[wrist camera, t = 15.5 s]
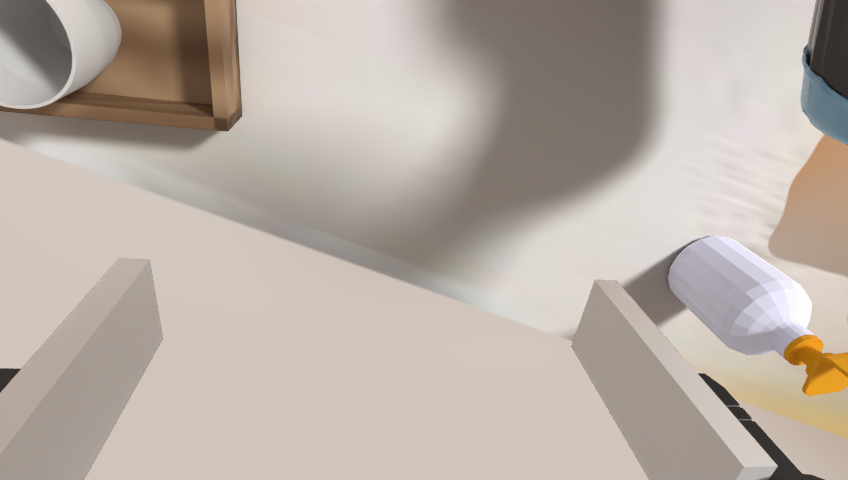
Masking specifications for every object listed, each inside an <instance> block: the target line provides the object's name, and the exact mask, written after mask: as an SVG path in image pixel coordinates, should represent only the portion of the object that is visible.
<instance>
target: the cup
mask: <svg viewBox="0 0 848 480" xmlns="http://www.w3.org/2000/svg"><path fill="white" fill-rule="evenodd" d="M121 37H122V33H121V27H120V23H119V21H118V18H117V16H116V15H115V13H114V11H113V10H112V9H111V7H110V6H109V5H108V4H107V3H106V2H105V1H104V0H0V106H4V107H9V108H16V109H32V108H38V107H42V106H45V105H48V104H50V103H52V102H54V101H56V100H58V99H60V98H62V97H64V96H66V95H68V94H70V93H72V92H74V91H76V90H77V89H79V88H81V87H83V86H85V85H87V84H88V83H89V82H91V81H92V80H93V79H94V78H95V77H96V76H97V75H99V74H100V73H101V72H102V71H103V70H104V69H105V68H107V67H108V66H109V65H110V63H111V62H112V61H113V59H114V57H115V55H116V53H117V50H118V48H119V46H120V43H121Z"/></svg>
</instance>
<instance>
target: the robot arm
mask: <svg viewBox="0 0 848 480" xmlns="http://www.w3.org/2000/svg"><path fill="white" fill-rule="evenodd" d="M802 63H803V66H804V77H803V85H802V92H801V106H802V110H803V112H804V113H805V114H806V116H807V117H808V119H809V120H810V122H811V124H812V125H813V126H814V127H816V128H817V129H818V130H820V131H821V132H822V133H824V134H825V135H827V136H829V137H831V138H833V139H835V140H837V141H839V142H841V143H844V144H846V145H848V0H816V4H815V9H814V14H813V19H812V24H811V30H810V35H809V40H808V44H807V45H806V47H805V48H804V51H803V56H802ZM162 340H163V335H162V329H161V324H160V319H159V312H158V306H157V300H156V294H155V288H154V282H153V276H152V270H151V265H150V260H140V259H118V260H117V261H116V263H115V264H114V265H113V266H112V267H111V268H110V269H109V271H108V272H107V273H106V274H105V275H104V276H103V277H102V278H101V279H100V281H99V282H98V283H97V284H96V285H95V286H94V288H92V290H91V291H90V292H89V293H88V294H87V295H86V296H85V298H84V299H83V300H82V301H81V302H80V303H79V304H78V305H77V307H76V308H75V309H74V310H73V311H72V312H71V313H70V315H69V316H68V317H67V318H66V319H65V320H64V321H63V322H62V324H61V325H60V326H59V327H58V328H57V329H56V330H55V332H54V333H53V334H52V335H51V336H50V337H49V338H48V339H47V341H46V342H45V343H44V344H43V345H42V346H41V347H40V348H39V350H38V351H37V352H36V353H35V354H34V355H33V356H32V357H31V359H30V360H29V361H28V362H27V363H26V364H25V365H24V366H23V368H22V369H0V480H84V479H85V477H86V476H87V474H88V472H89V470H90V469H91V467H92V465H93V463H94V461H95V460H96V458H97V456H98V454H99V452H100V451H101V449H102V447H103V445H104V443H105V442H106V440H107V438H108V436H109V435H110V432H111V431H112V429H113V427H114V426H115V424H116V422H117V420H118V418H119V417H120V415H121V413H122V411H123V410H124V408H125V406H126V404H127V402H128V401H129V399H130V397H131V395H132V393H133V391H134V390H135V388H136V386H137V385H138V383H139V381H140V379H141V377H142V376H143V374H144V372H145V370H146V368H147V367H148V365H149V363H150V361H151V359H152V357H153V355H154V354H155V352H156V351H157V349H158V347H159V345H160V343H161V342H162ZM571 347H572V348H573V350H574V352H575V353H576V355H577V357H578V359H579V360H580V362H581V364H582V366H583V367H584V369H585V370H586V372H587V374H588V376H589V378H590V379H591V381H592V383H593V384H594V386H595V388H596V390H597V391H598V393H599V395H600V396H601V398H602V400H603V402H604V403H605V405H606V407H607V408H608V410H609V412H610V413H611V415H612V417H613V419H614V420H615V422H616V424H617V425H618V427H619V429H620V431H621V432H622V434H623V436H624V437H625V439H626V441H627V443H628V444H629V446H630V448H631V449H632V451H633V453H634V455H635V456H636V458H637V460H638V461H639V463H640V465H641V467H642V468H643V470H644V472H645V473H646V475H647V477H648V479H649V480H824V479H821V478H819V477H816V476H813V475H807V474H802V473H801V472H800V471H799V470H798V469H797V468H796V467H795V466H794V464H793V463H792V462H791V461H790V460H789V459H788V458H787V457H786V456H785V455H784V453H783V452H782V451H781V450H780V449H779V448H778V447H777V446H776V445H775V444H774V442H773V441H772V440H771V439H770V438H769V437H768V436H767V435H766V433H765V432H764V431H763V430H762V429H761V428H760V427H759V426H758V425H757V423H756V422H753V421H752V420H751V417H750V416H749V415H748V414H747V413H746V411H745V410H744V409H743V408H740V407H739V404H738V402H737V401H736V400H735V399H734V398H733V397H732V396H731V395H730V394H729V393H728V391H727V390H726V389H725V388H724V387H722V386H721V385H720V384H718V383H717V382H716V381H714V380H713V379H711V378H710V377H709V376H707V375H706V374H698V373H697V372H696V371H695V370H694V369H693V368H692V367H691V365H690V364H689V363H688V362H687V361H686V360H685V358H684V357H683V356H682V355H681V354H680V353H679V352H678V350H677V349H676V348H675V347H674V346H673V345H672V344H671V342H670V341H669V340H668V339H667V338H666V337H665V335H664V334H663V333H662V332H661V331H660V330H659V329H658V327H657V326H656V325H655V324H654V323H653V322H652V321H651V319H650V318H649V317H648V316H647V315H646V314H645V312H644V311H643V310H642V309H641V308H640V307H639V306H638V304H637V303H636V302H635V301H634V300H633V299H632V297H631V296H630V295H629V294H628V293H627V292H626V291H625V289H624V288H623V287H622V286H621V285H620V284H619V283H618V281H612V280H595V281H594V284H593V287H592V289H591V292H590V295H589V298H588V301H587V304H586V306H585V309H584V312H583V315H582V318H581V321H580V323H579V326H578V329H577V332H576V335H575V338H574V340H573V343H572V346H571Z"/></svg>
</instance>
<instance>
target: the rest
mask: <svg viewBox="0 0 848 480" xmlns="http://www.w3.org/2000/svg"><path fill="white" fill-rule="evenodd" d="M104 1H105V2H106V3H107V4H108V5H109V6H110V7H111V9H112V10H113V11H114V13H115V15H116V16H117V18H118V21H119V23H120V27H121V33H122V37H121V43H120V46H119V48H118V50H117V53H116V55H115V57H114V59H113V61H112V62H111V63H110V65H109V66H108V67H107V68H105V69H104V70H103V71H102V72H101V73H100V74H99V75H97V76H96V77H95V78H94V79H93V80H92V81H91V82H89V83H88V84H87V85H85V86H83V87H81V88H79V89H77V90H76V91H74V92H72V93H70V94H68V95H66V96H64V97H62V98H60V99H58V100H56V101H54V102H52V103H50V104H48V105H45V106H42V107H38V108H32V109H16V108H9V107H4V106H0V111H5V112H16V113H28V114H39V115H50V116H61V117H73V118H84V119H95V120H106V121H118V122H129V123H140V124H151V125H163V126H174V127H185V128H196V129H208V130H219V131H229V130H230V129H231V128H232V127H233V125H234V124H235V123H236V122H237V121H238V120H239V119H240V118H241V117H242V105H241V87H240V68H239V49H238V31H237V12H236V0H104Z"/></svg>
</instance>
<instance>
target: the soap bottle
mask: <svg viewBox="0 0 848 480" xmlns="http://www.w3.org/2000/svg"><path fill="white" fill-rule="evenodd" d="M668 282H669V287H670V290H671V291H672V292H673V293H674V294H675V296H676V297H677V298H678V299H679V300H680V301H681V302H682V303H683V304H684V305H685V306H686V307H687V308H688V309H689V310H690V311H691V312H693V313H694V314H695V315H696V316H697V317H698V318H699V319H700V320H701V321H702V322H703V323H704V324H705V325H706V326H707V327H708V328H709V329H710V330H711V331H712V332H713V333H714V334H715V335H716V336H717V337H718V338H719V339H720V340H721V341H722V342H723V343H724V344H725V345H726V346H727V347H729V348H731V349H733V350H736V351H738V352H741V353H743V354H746V355H761V354H769V353H773V352H778V353H779V354H780V355H781V356H782V357H783V358H784V359H786V360H787V361H788V362H789V363H791V364H793V365H803V364H806V365H807V367H806V373H807V374H808V377H807V379H806V381H805V383H804V385H803V388H802V390H803V392H804V393H805V394H806V395H808V396H812V395H819V394H826V393H832V392H839V391H841V390H843V389H845V388H846V387H847V386H848V353H841V354H832V353H824V354H823V353H821V351H822V348H823V343H822V341H821V340H820V339H819V338H817V336H815V335H814V334H813V333H811V332H810V331H809V330H808V329H806V328H807V325H808V323H809V321H810V316H811V300H810V299H809V297H808V295H807V294H806V292H805V291H804V289H803V288H802V286H801V285H800V284H798V283H797V282H795V281H794V280H792V279H791V278H790V277H788V276H787V275H785V274H784V273H782V272H781V271H779V270H778V269H776V268H775V267H773V266H772V265H770V264H769V263H767V262H766V261H765V260H763V259H762V258H760V257H759V256H757V255H756V254H754V253H753V252H751V251H750V250H748V249H747V248H745V247H744V246H742V245H741V244H740V243H738V242H737V241H735V240H733V239H731V238H729V237H726V236H710V237H706V238H702V239H699V240H697V241H696V242H694V243H692V244H690V245H689V246H687V247H686V248H685V249H684V250H683V251H682V252H681V253H680V254H679V255H678V256H677V257H676V258H675V260H674V262H673V263H672V265H671V267H670V270H669V275H668Z"/></svg>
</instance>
